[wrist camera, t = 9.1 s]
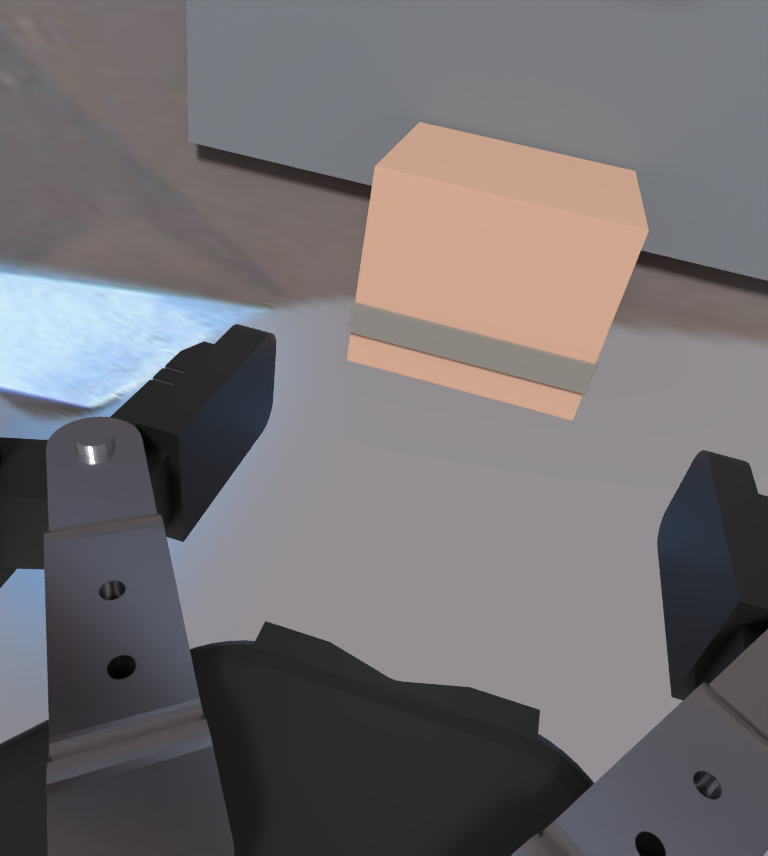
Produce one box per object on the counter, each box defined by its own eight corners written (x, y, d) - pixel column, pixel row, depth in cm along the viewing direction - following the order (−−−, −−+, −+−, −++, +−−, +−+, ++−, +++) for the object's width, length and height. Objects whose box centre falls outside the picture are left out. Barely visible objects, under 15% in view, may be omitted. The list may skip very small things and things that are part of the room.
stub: (637, 171, 18) (651, 233, 14) (576, 333, 21) (574, 424, 17) (418, 121, 19) (371, 167, 15) (389, 285, 22) (343, 362, 18)
